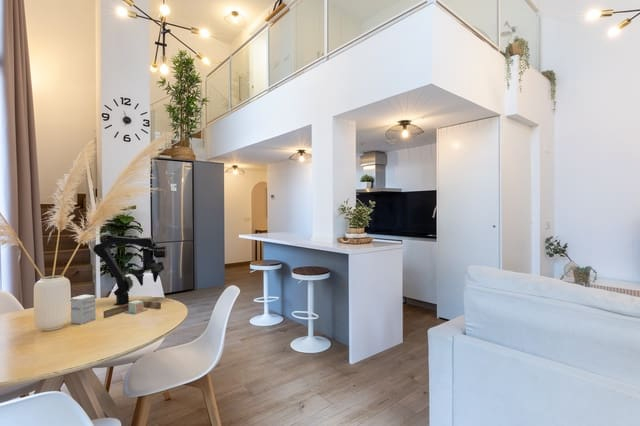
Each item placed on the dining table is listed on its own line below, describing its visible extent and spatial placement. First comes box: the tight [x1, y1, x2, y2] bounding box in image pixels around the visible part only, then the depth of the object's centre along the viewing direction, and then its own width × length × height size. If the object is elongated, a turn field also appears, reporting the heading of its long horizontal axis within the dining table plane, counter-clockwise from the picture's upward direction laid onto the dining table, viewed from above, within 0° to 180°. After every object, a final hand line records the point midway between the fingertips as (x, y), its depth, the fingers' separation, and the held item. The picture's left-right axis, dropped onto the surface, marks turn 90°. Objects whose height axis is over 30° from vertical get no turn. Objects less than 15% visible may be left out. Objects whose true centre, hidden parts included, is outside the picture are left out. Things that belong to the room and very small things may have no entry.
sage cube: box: [128, 299, 145, 313], centre depth 170 cm, size 5×5×5 cm
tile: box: [123, 308, 149, 315], centre depth 170 cm, size 8×8×1 cm
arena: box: [103, 299, 162, 319], centre depth 168 cm, size 16×22×4 cm
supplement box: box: [70, 294, 96, 325], centre depth 156 cm, size 7×7×13 cm
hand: (148, 283), depth 188 cm, fingers open, 9 cm apart
